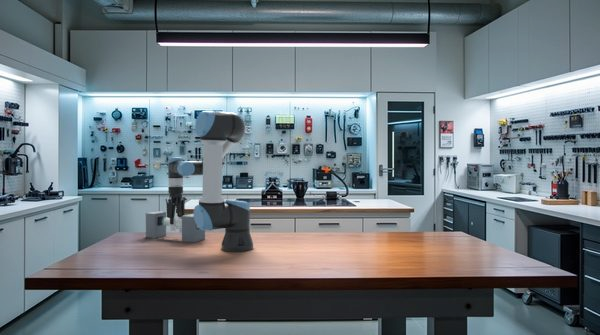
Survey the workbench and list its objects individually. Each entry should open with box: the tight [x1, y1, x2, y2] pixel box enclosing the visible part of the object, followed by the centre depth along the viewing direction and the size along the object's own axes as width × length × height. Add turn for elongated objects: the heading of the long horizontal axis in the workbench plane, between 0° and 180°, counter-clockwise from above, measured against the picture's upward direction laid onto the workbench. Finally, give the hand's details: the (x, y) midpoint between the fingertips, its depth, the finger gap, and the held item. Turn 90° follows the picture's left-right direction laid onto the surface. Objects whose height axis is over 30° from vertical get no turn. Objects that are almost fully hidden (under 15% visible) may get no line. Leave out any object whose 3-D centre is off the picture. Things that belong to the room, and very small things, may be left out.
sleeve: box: [181, 213, 206, 243], centre depth 220 cm, size 8×9×13 cm
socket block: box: [145, 210, 167, 239], centre depth 230 cm, size 6×9×13 cm, turn 157°
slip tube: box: [162, 216, 198, 228], centre depth 222 cm, size 25×4×4 cm, turn 67°
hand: (175, 229), depth 224 cm, fingers closed on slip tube, 4 cm apart
